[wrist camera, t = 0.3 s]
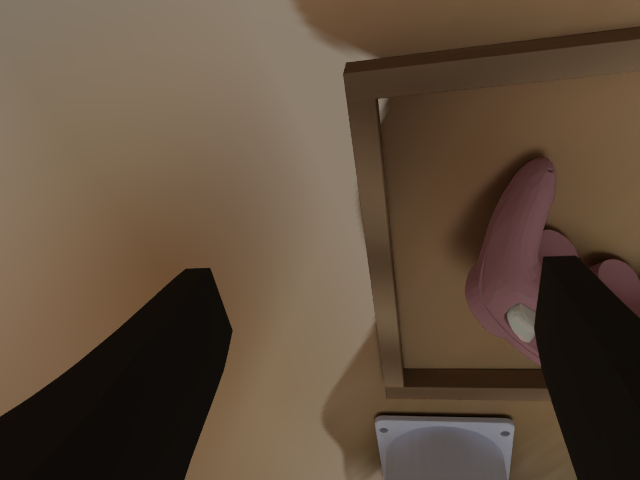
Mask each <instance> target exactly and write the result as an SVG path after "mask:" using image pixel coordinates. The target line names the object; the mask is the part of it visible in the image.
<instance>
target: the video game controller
mask: <svg viewBox="0 0 640 480" xmlns="http://www.w3.org/2000/svg"><path fill="white" fill-rule="evenodd" d="M555 189H556V173H555V168H554V166H553V163H552V162H551V161H550V160H549V159H546V158H536V159H533V160H531V161H529V162H527V163H526V164H525V165H524V166H522V167H521V168H520V170H519V171H518V172H517V173H516V174H515V175H514V176H513V178H512V180H511V181H510V183H509V184H508V186H507V187H506V189H505V191H504V192H503V194H502V196H501V198H500V200H499V202H498V204H497V205H496V207H495V210H494V212H493V215H492V217H491V219H490V222H489V224H488V228H487V231H486V234H485V238H484V241H483V244H482V248H481V251H480V254H479V258H478V261H477V263H476V264H475V265H474V266H473V267H472V268H471V270H470V272H469V274H468V277H467V280H466V287H465V294H466V299H467V303H468V305H469V308H470V310H471V311H472V313H473V315H474V316H475V318H476V319H477V320H478V322H479V323H480V324H481V325H482V326H483V327H484V328H485V329H486V330H487V331H489V332H490V333H492V334H493V335H495V336H498V337H501V338H505V339H506V340H507V341H508V342H509V343H510V344H511V345H513V346H514V347H515V348H516V349H517V350H518V351H519V352H521V353H522V354H524V355H525V356H526V357H528V358H529V359H531V360H532V361H533V362H535V363H536V364H538V365H540V366H541V363H540V359H539V354H538V348H537V343H536V338H535V332H534V322H535V315H536V307H537V300H538V292H539V285H540V277H541V270H542V262H543V257H544V256H573V255H576V256H577V257H578V253H577V251H576V249H575V247H574V246H573V245H572V244H571V242H570V241H569V240H568V239H567V238H566V237H564V236H563V235H562V234H560V233H559V232H556V231H553V230H544V231H543V229H544V226H545V223H546V220H547V217H548V214H549V211H550V208H551V205H552V202H553V199H554V196H555ZM578 258H579V257H578ZM588 268H589V269H590V270H591V271H592V272H593V273H594V274H595V275H596V276H597V277H598V278H599V279H600V280H601V281H602V282H603V283H604V284H605V285H606V286H607V287H608V288H609V289H610V290H611V291H612V292H613V293H614V294H615V295H616V296H617V297H618V298H619V299H620V300H621V301H622V302H623V303H625V304H626V305H627V306H628V307H629V308H630V309H631V310H632V311H633V312H634V313H635V314H636V315H637V316H638V317H639V318H640V280H639V278H638V276H637V274H636V273H635V271H634V270H633V269H632V268H631V267H630V266H629V265H627V264H626V263H624V262H622V261H620V260H616V259H609V260H606V261H603V262H600V263H598V264H596V265H593V266H591V267H588Z"/></svg>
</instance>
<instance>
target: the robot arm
mask: <svg viewBox="0 0 640 480" xmlns="http://www.w3.org/2000/svg"><path fill="white" fill-rule="evenodd" d="M534 332H535V338H536V343H537V348H538V354H539V359H540V363H541V368H542V373H543V376H544V379H545V382H546V386H547V389H548V392H549V395H550V398H551V401H552V404H553V407H554V410H555V413H556V416H557V419H558V422H559V425H560V428H561V431H562V434H563V437H564V440H565V443H566V446H567V449H568V452H569V455H570V458H571V461H572V464H573V467H574V470H575V473H576V476H577V480H640V318H639V317H638V316H637V315H636V314H635V313H634V312H633V311H632V310H631V309H630V308H629V307H628V306H627V305H626V304H625V303H623V302H622V301H621V300H620V299H619V298H618V297H617V296H616V295H615V294H614V293H613V292H612V291H611V290H610V289H609V288H608V287H607V286H606V285H605V284H604V283H603V282H602V281H601V280H600V279H599V278H598V277H597V276H596V275H595V274H594V273H593V272H592V271H591V270H590V269H589V268H588V267H587V266H586V265H585V264H584V263H583V262H582V261H581V260H580V259H579V258H578V257H577V256H576V255H573V256H544V257H543V262H542V270H541V277H540V285H539V292H538V300H537V307H536V315H535V322H534ZM231 335H232V328H231V325H230V322H229V319H228V316H227V314H226V311H225V308H224V305H223V303H222V300H221V297H220V295H219V292H218V289H217V286H216V283H215V280H214V277H213V275H212V272H211V269H210V268H194V269H185V270H184V271H183V272H181V273H180V274H179V275H178V276H176V277H175V278H174V279H173V280H172V281H171V282H170V283H168V284H167V285H166V286H165V287H164V288H163V289H162V290H161V291H160V292H159V293H157V294H156V296H154V297H153V298H152V299H151V300H150V301H149V302H148V303H146V304H145V305H144V306H143V307H142V308H141V309H140V310H139V311H138V312H136V313H135V314H134V315H133V316H132V317H131V318H130V319H129V320H128V321H126V322H125V323H124V324H123V325H122V326H121V327H120V328H119V329H117V330H116V331H115V332H114V333H113V334H112V335H110V336H109V337H108V338H107V339H106V340H104V341H103V342H102V343H101V344H100V345H98V346H97V347H96V348H95V349H93V350H92V351H91V352H90V353H89V354H87V355H86V356H85V357H84V358H83V359H81V360H80V361H79V362H78V363H77V364H75V365H74V366H73V367H71V368H70V369H69V370H67V371H66V372H65V373H63V374H62V375H61V376H60V377H58V378H57V379H55V380H54V381H53V382H51V383H50V384H48V385H47V386H46V387H44V388H43V389H41V390H40V391H39V392H37V393H36V394H34V395H33V396H32V397H30V398H29V399H27V400H26V401H24V402H23V403H21V404H20V405H18V406H16V407H15V408H13V409H12V410H10V411H8V412H7V413H5V414H4V415H2V416H1V417H0V480H184V479H185V476H186V473H187V470H188V467H189V464H190V461H191V458H192V455H193V452H194V450H195V447H196V444H197V442H198V439H199V436H200V433H201V431H202V428H203V425H204V423H205V420H206V418H207V415H208V412H209V410H210V407H211V404H212V402H213V399H214V396H215V393H216V390H217V388H218V385H219V382H220V379H221V376H222V374H223V371H224V367H225V363H226V358H227V355H228V350H229V345H230V340H231ZM375 429H376V435H377V441H378V447H379V453H380V460H381V466H382V472H383V478H384V480H509V473H510V464H511V456H512V447H513V438H514V429H515V428H514V423H513V421H512V420H511V419H508V418H480V417H434V416H387V415H382V416H378V417H376V418H375Z"/></svg>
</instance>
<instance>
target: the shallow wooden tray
mask: <svg viewBox="0 0 640 480" xmlns="http://www.w3.org/2000/svg"><path fill="white" fill-rule="evenodd" d="M636 71H640V27H636V28H628V29H619V30H611V31H603V32H595V33H586V34H578V35H570V36H562V37H553V38H545V39H537V40H529V41H520V42H512V43H504V44H496V45H487V46H479V47H471V48H463V49H455V50H446V51H438V52H430V53H422V54H413V55H405V56H397V57H389V58H380V59H372V60H364V61H356V62H347V63H346V67H345V69H344V73H343V76H344V84H345V92H346V99H347V106H348V114H349V121H350V129H351V136H352V144H353V152H354V159H355V167H356V174H357V182H358V189H359V197H360V204H361V212H362V219H363V227H364V234H365V242H366V249H367V257H368V264H369V272H370V279H371V287H372V294H373V302H374V309H375V317H376V324H377V332H378V339H379V347H380V354H381V362H382V369H383V377H384V384H385V392H386V398H389V399H457V400H526V401H551V398H550V395H549V392H548V389H547V386H546V382H545V379H544V376H543V373H542V370H514V369H404V367H403V357H402V346H401V336H400V325H399V315H398V304H397V294H396V283H395V273H394V262H393V252H392V242H391V231H390V221H389V210H388V200H387V189H386V179H385V168H384V158H383V147H382V137H381V126H380V116H379V105H378V99H380V98H389V97H399V96H408V95H418V94H427V93H437V92H446V91H456V90H465V89H475V88H484V87H494V86H503V85H513V84H522V83H532V82H541V81H551V80H560V79H570V78H579V77H589V76H598V75H607V74H617V73H626V72H636Z"/></svg>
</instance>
